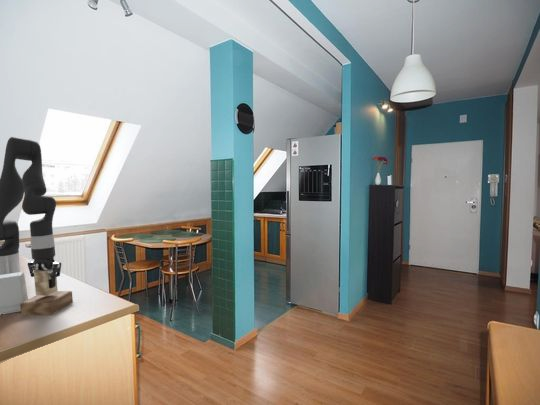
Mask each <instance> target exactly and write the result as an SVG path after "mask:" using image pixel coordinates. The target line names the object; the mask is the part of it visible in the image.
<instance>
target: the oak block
mask: <svg viewBox="0 0 540 405" xmlns="http://www.w3.org/2000/svg"><path fill="white" fill-rule="evenodd" d="M52 270H53V268H52V269H49V270H48V271H52ZM33 272H34V277H33V278H34V290H35V296H36V295H44V296H47V295H49V294H52V293H54V292H56V291H59V290H58V277H56V278H55V282H56V285H55V287H53V288H49V281H48V280H49V279H48V274H46V270H33ZM50 274H51V276H52V273H50Z"/></svg>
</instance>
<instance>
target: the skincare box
mask: <svg viewBox="0 0 540 405" xmlns="http://www.w3.org/2000/svg"><path fill="white" fill-rule="evenodd" d="M28 299H29V297H28V291H27V285H26V277H25V272H24V271H21V272H17V273H11V274H4V275H0V316H2V315H1V314H3V315H8V314H13V313H17V312H21V308H20V303H22V302H24V301H26V300H28Z"/></svg>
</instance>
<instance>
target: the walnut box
mask: <svg viewBox="0 0 540 405" xmlns="http://www.w3.org/2000/svg"><path fill="white" fill-rule="evenodd" d="M73 302H74V300H73V291H72V290H65V291H64V290H61V291H60V290H58V291H56V292H54V293H52V294H49V295H47V296H44V295H36V294H35V296H33V297H30V298H28V300H26V301H24V302H22V303H20V308H21V311H20V316H52V315H54V314H56V313H57V312H59V311H60V310H62V309H63V308H65V307H67V306H68V305H70V304H71V303H73Z"/></svg>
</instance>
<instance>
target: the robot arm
mask: <svg viewBox="0 0 540 405" xmlns="http://www.w3.org/2000/svg"><path fill="white" fill-rule="evenodd" d="M16 160H22V161H28V162H29V161H31V165H30V166H28V168H27V169H26V170H25V171H24V173H23V174H22V177H21V175H20V174H19V172H18V170H17V167H16ZM45 183H46V182H45V180H44V174H43V159H42V148H41V146H40V143H39V142H38V141H36V140H32V139H27V138H22V137H17V136H10V137H9V139H8V140H7V142H6V146H5V152H4V160H3V165H2V171H1V175H0V242H2V241H4V242H3V243H2V244H1V245H0V275H4V274H11V273H17V272H22V271H21V262H20V251H19V249H20V229H19V225H18V223H17V221H16V220H14V219H6V217H7V216H8V215H9V214H10V213H11V212H13V210H15V208H16V207H18V205H19V204H20V203H21V202H22V206H21V209H22V211H23V212H24V213H25V214H26V215H29V216H30V215H33V216H34V215H35V216H36V215H44V216H43V217H42V218H39V219H35V220H32V221H31V222H30V223H29V230H30V231H29V232H30V241H29V242H30V252H31V259H32V261H30V262H27V268H28V270H29V274H30V277H31V278H34V270H46V274H48V279H49V280H48V281H49V288H53V287H55V285H56V282H55V278H56V277H57V278H58V277H60V275H61V270H62V262H61V261H60V262H57V261H55V257H56V247H55V236H54V231H53V221H54V215H55V212H56V207H57V201H56V199H55V198H54V197H53V196H51V195H45V194H46V193H47V187H46V184H45ZM5 219H6V220H5ZM52 268H53V270H52V271H48V270H49V269H52ZM50 273H52V276H51V274H50Z"/></svg>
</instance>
